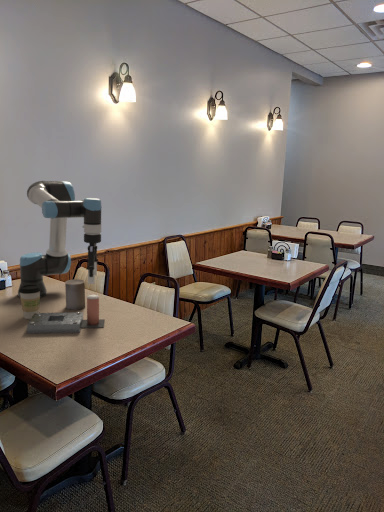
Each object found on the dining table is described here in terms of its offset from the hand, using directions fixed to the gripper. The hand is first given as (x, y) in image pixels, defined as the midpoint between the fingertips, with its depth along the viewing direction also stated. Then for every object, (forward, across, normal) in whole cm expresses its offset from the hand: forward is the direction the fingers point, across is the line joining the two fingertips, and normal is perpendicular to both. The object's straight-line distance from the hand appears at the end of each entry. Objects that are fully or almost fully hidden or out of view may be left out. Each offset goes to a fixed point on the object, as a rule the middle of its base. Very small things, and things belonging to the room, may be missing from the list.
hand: (92, 279), depth 187 cm
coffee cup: (+22, -10, -30) cm, 38 cm away
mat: (+21, +1, 0) cm, 21 cm away
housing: (+22, +3, -16) cm, 27 cm away
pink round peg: (+21, +1, 0) cm, 21 cm away
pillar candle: (+22, -24, -11) cm, 35 cm away
